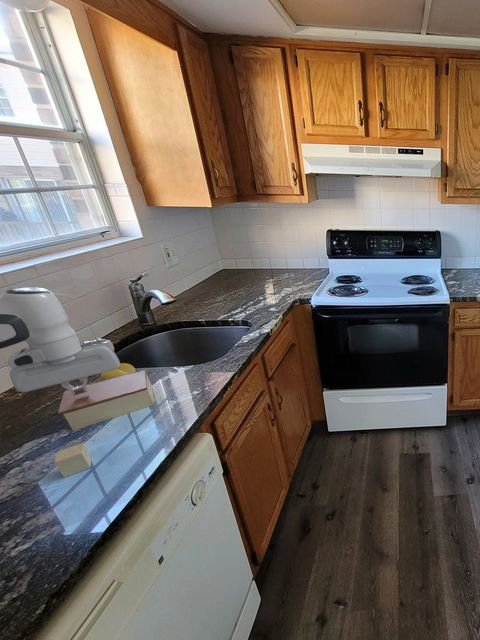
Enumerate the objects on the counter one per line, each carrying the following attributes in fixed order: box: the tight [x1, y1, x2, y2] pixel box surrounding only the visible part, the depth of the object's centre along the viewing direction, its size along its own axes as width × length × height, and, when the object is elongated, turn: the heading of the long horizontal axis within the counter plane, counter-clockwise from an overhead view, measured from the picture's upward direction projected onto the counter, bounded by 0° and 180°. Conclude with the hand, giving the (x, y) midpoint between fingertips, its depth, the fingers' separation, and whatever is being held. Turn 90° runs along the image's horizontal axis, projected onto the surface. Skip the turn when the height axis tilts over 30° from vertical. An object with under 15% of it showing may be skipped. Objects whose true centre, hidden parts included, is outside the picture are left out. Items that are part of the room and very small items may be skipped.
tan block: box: [54, 442, 93, 478], centre depth 83 cm, size 4×4×4 cm
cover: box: [57, 369, 147, 416], centre depth 104 cm, size 18×14×1 cm
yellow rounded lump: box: [99, 362, 137, 382], centre depth 121 cm, size 8×9×4 cm
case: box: [63, 373, 155, 432], centre depth 105 cm, size 18×14×5 cm
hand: (81, 392), depth 100 cm, fingers closed
